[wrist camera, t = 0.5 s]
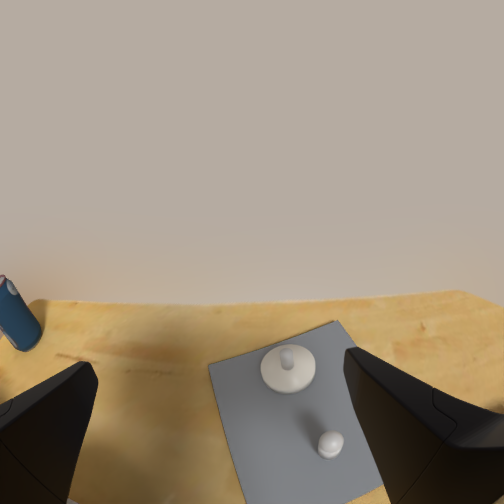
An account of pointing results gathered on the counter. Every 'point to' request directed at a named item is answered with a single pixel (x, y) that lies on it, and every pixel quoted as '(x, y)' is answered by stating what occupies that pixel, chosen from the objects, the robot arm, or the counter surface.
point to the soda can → (17, 318)
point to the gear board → (295, 422)
